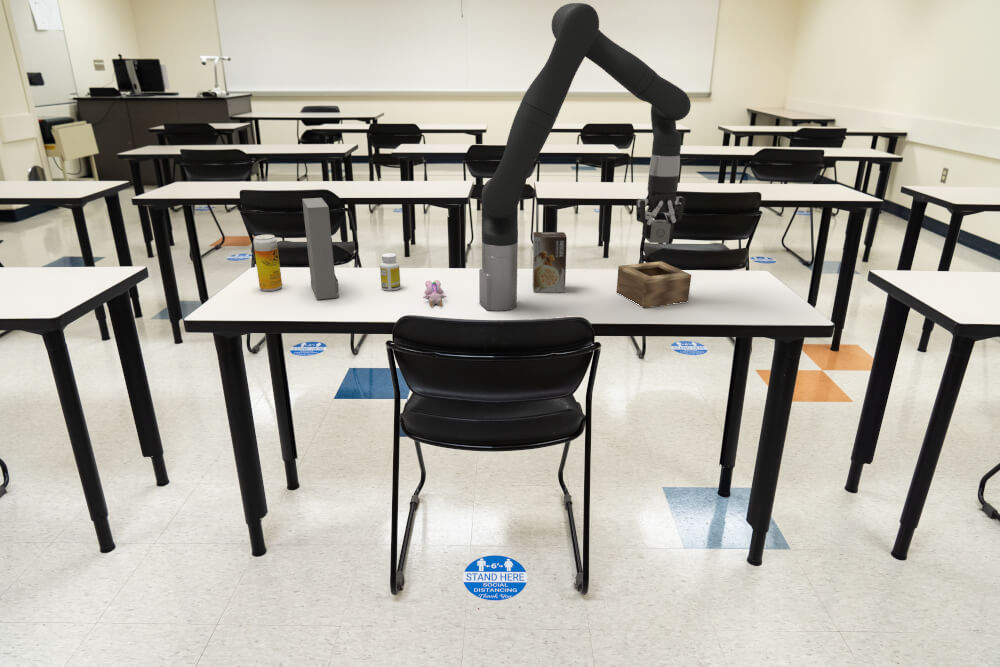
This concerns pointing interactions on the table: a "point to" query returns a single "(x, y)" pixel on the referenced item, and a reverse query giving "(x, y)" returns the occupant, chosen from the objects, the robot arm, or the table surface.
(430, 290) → the rabbit figure
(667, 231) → the dice cube
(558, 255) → the coffee box
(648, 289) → the open wooden box
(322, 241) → the tall notched grey box
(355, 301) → the table surface
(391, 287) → the supplement bottle
